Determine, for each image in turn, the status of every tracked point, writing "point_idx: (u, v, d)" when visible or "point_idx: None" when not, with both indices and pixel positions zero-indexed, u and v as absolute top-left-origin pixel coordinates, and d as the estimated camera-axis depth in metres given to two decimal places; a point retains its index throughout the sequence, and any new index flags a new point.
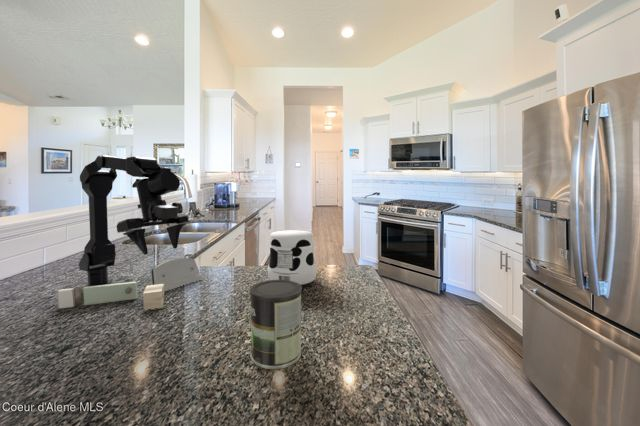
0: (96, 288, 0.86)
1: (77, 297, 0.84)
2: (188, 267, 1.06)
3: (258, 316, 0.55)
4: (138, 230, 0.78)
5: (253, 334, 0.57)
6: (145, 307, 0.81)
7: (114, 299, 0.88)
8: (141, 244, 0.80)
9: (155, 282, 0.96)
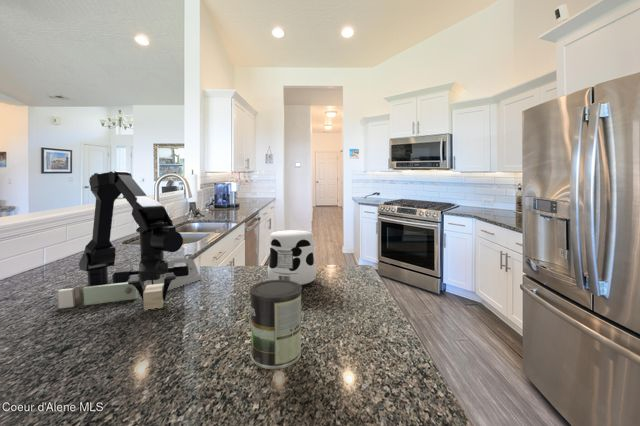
0: (96, 288, 0.86)
1: (77, 297, 0.84)
2: None
3: (258, 316, 0.55)
4: (132, 283, 0.80)
5: (253, 334, 0.57)
6: (145, 307, 0.81)
7: (114, 299, 0.88)
8: (139, 293, 0.83)
9: (154, 282, 0.96)
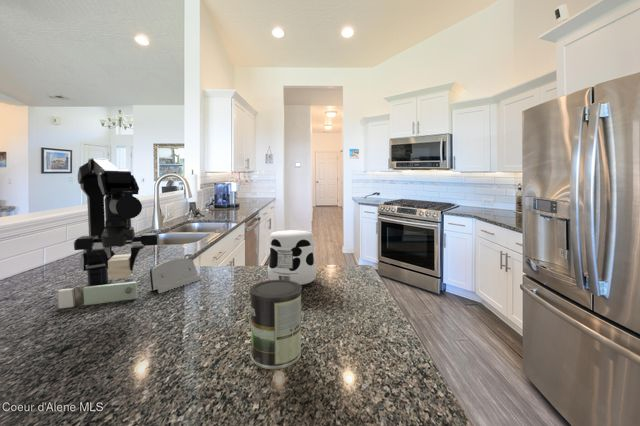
0: (96, 288, 0.86)
1: (77, 297, 0.84)
2: (186, 267, 1.06)
3: (258, 316, 0.55)
4: (95, 251, 0.77)
5: (253, 334, 0.57)
6: (110, 276, 0.78)
7: (114, 299, 0.88)
8: None
9: (154, 283, 0.96)
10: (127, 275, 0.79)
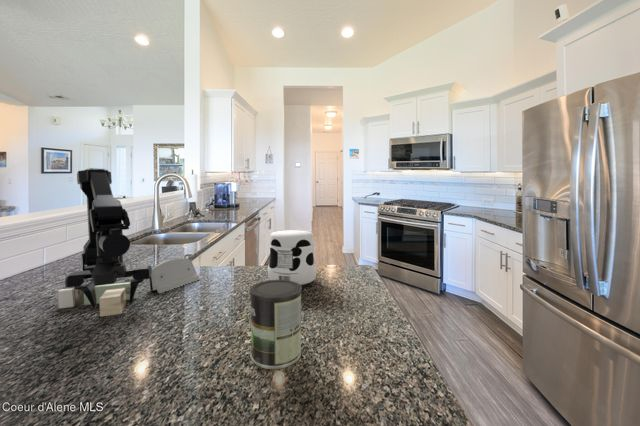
0: (96, 288, 0.86)
1: (77, 297, 0.84)
2: (185, 268, 1.06)
3: (258, 316, 0.55)
4: (78, 288, 0.76)
5: (253, 334, 0.57)
6: (102, 313, 0.77)
7: None
8: None
9: (153, 283, 0.95)
10: (119, 312, 0.79)
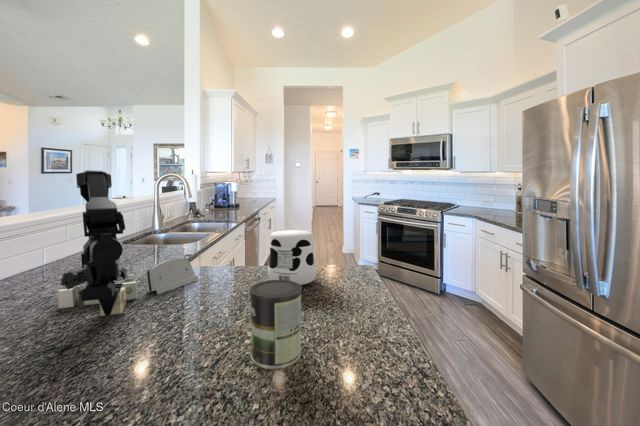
0: None
1: (77, 297, 0.84)
2: (183, 268, 1.05)
3: (258, 316, 0.55)
4: None
5: (253, 334, 0.57)
6: (102, 312, 0.78)
7: None
8: None
9: (152, 284, 0.94)
10: (119, 311, 0.79)
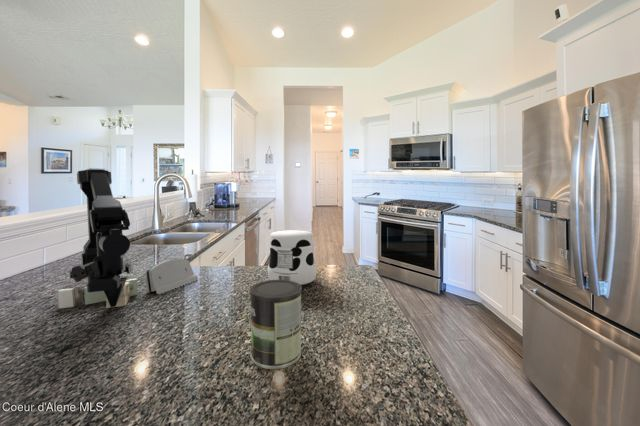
0: None
1: (77, 297, 0.84)
2: (183, 268, 1.05)
3: (258, 316, 0.55)
4: None
5: (253, 334, 0.57)
6: (107, 304, 0.83)
7: None
8: None
9: (152, 284, 0.94)
10: (124, 303, 0.84)
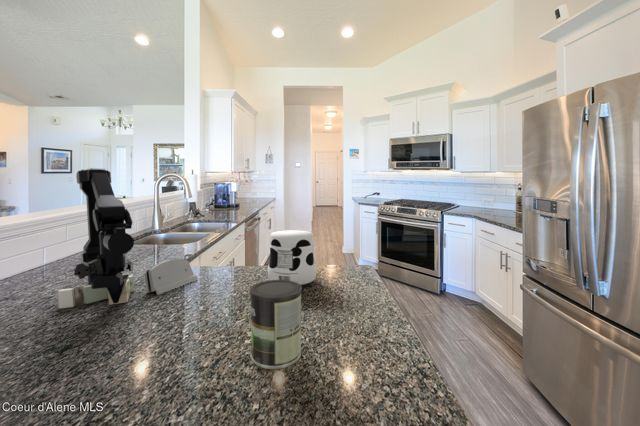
0: None
1: (77, 297, 0.84)
2: (182, 268, 1.05)
3: (258, 316, 0.55)
4: None
5: (253, 334, 0.57)
6: (110, 301, 0.85)
7: None
8: None
9: (151, 284, 0.94)
10: (126, 300, 0.87)
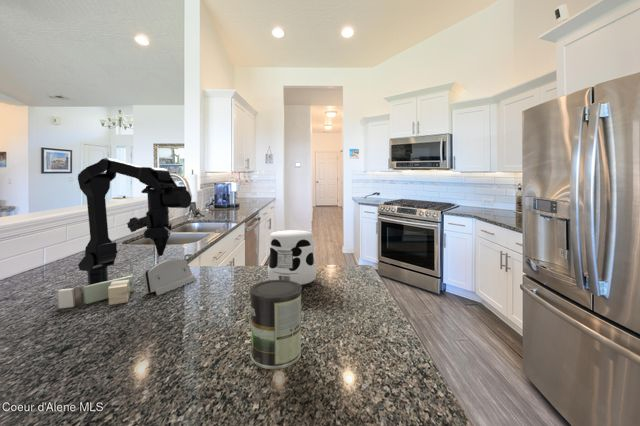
0: (97, 285, 0.88)
1: (77, 297, 0.84)
2: (181, 268, 1.05)
3: (258, 316, 0.55)
4: None
5: (253, 334, 0.57)
6: (110, 301, 0.85)
7: None
8: None
9: (151, 285, 0.93)
10: (126, 300, 0.87)
